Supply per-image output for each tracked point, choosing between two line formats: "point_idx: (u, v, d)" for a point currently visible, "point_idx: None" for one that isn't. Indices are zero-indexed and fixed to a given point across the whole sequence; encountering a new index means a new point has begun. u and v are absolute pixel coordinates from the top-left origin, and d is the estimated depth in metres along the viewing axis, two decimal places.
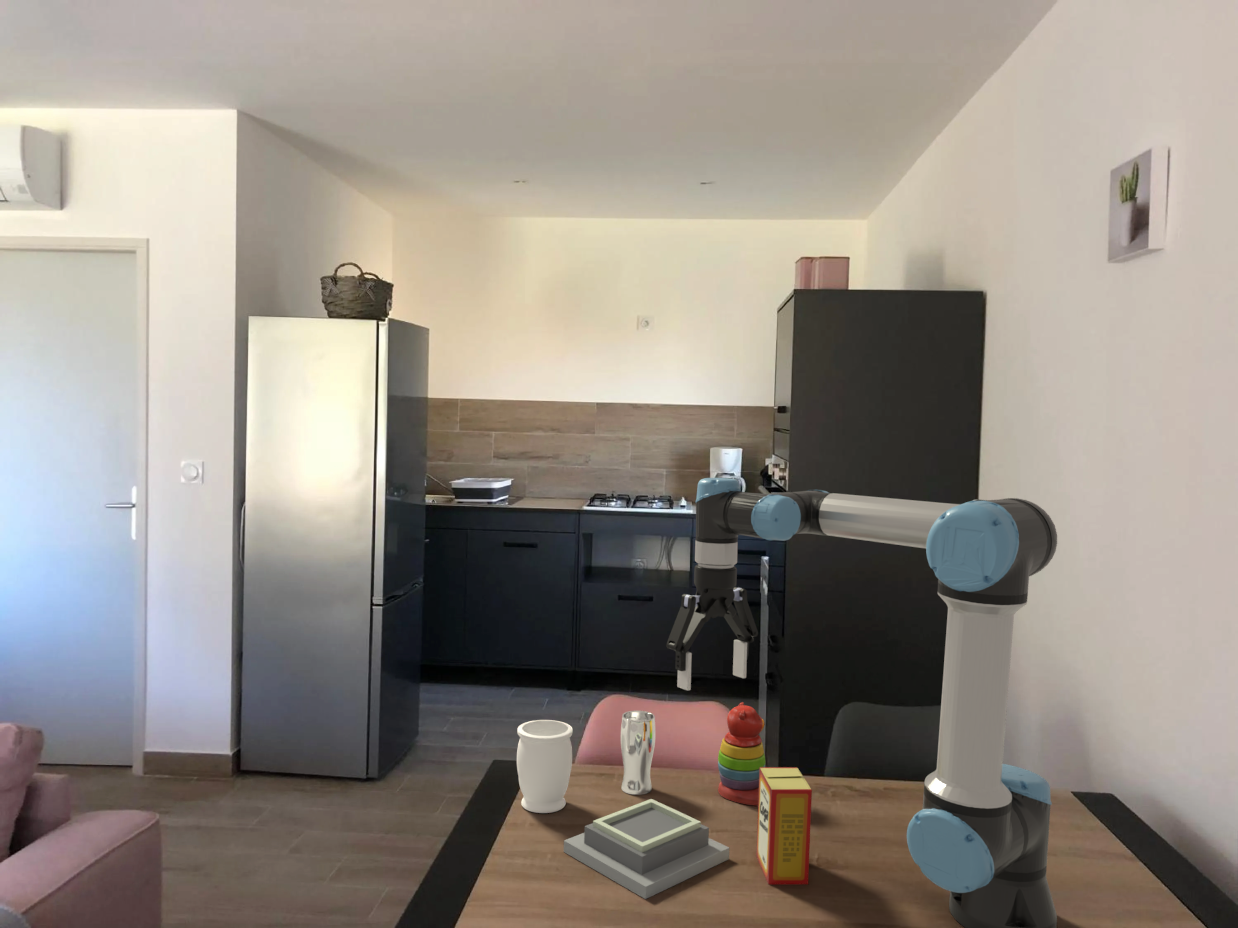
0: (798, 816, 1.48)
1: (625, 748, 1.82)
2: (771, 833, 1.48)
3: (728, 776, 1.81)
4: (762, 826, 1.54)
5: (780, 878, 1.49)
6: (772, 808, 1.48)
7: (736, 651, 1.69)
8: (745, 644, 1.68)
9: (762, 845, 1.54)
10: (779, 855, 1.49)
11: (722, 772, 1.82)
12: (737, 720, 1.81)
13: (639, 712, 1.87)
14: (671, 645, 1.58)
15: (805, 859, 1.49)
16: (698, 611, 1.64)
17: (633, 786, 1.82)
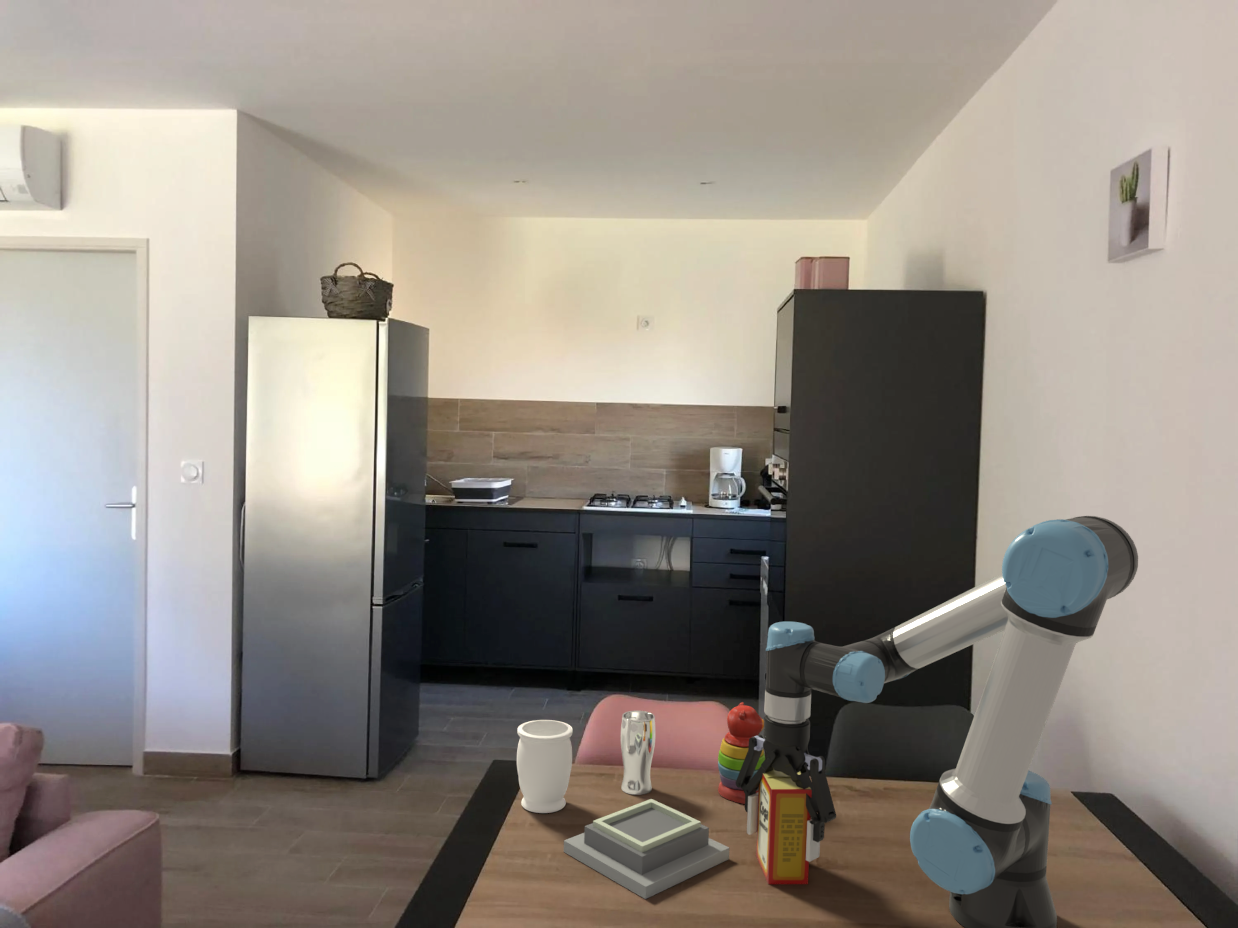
0: (798, 816, 1.48)
1: (625, 748, 1.82)
2: (771, 833, 1.48)
3: (728, 776, 1.81)
4: (762, 826, 1.54)
5: (780, 878, 1.49)
6: (772, 808, 1.48)
7: None
8: (808, 823, 1.48)
9: (762, 845, 1.54)
10: (779, 855, 1.49)
11: (722, 772, 1.82)
12: (737, 720, 1.81)
13: (639, 712, 1.87)
14: None
15: (805, 859, 1.49)
16: None
17: (633, 786, 1.82)
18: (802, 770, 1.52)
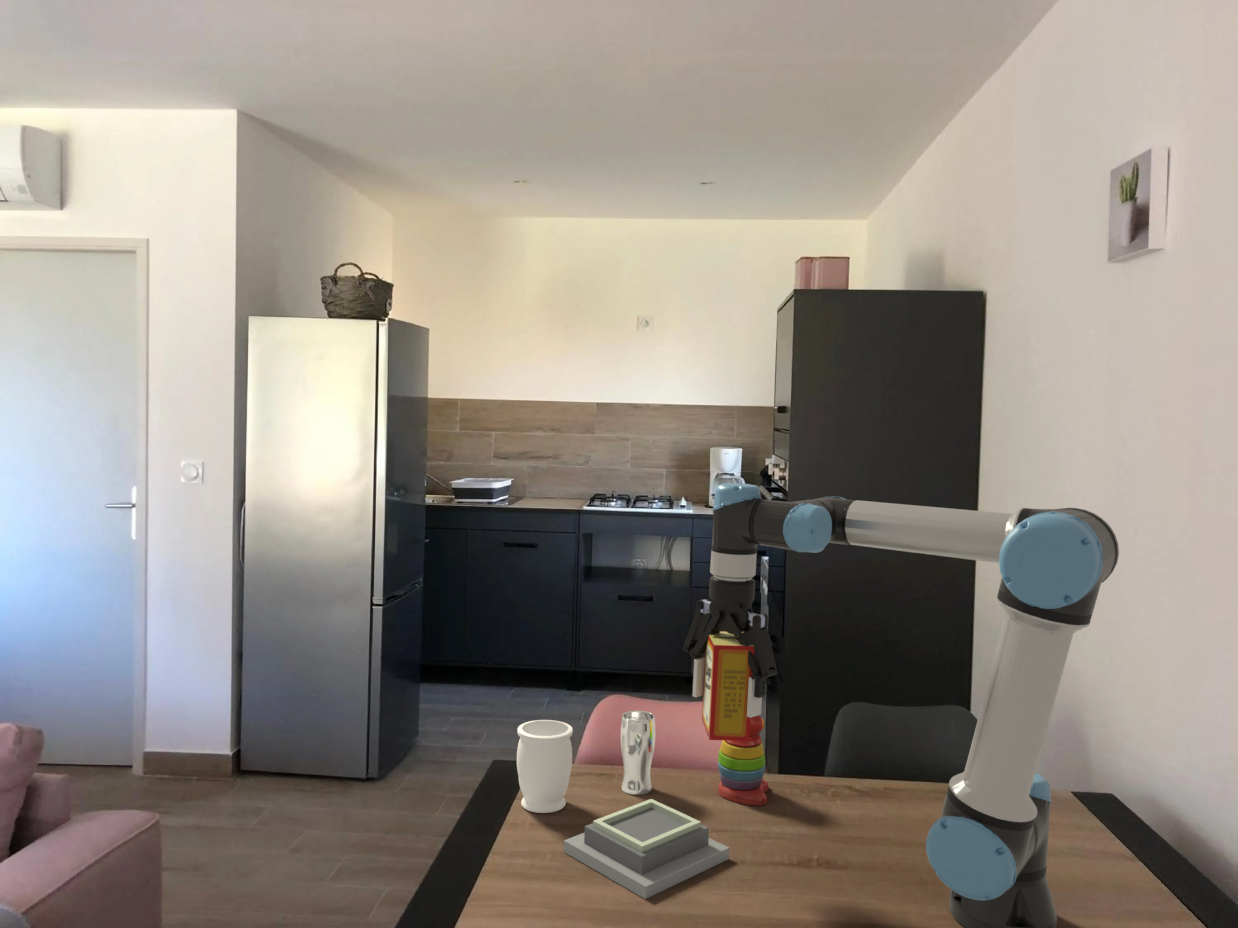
0: (740, 672, 1.49)
1: (625, 748, 1.82)
2: (713, 689, 1.49)
3: (728, 776, 1.81)
4: (706, 686, 1.55)
5: (721, 734, 1.50)
6: (714, 664, 1.49)
7: None
8: (750, 679, 1.48)
9: (706, 705, 1.54)
10: (720, 711, 1.49)
11: (722, 772, 1.82)
12: None
13: (639, 712, 1.87)
14: None
15: (746, 716, 1.50)
16: None
17: (633, 786, 1.82)
18: (746, 630, 1.52)
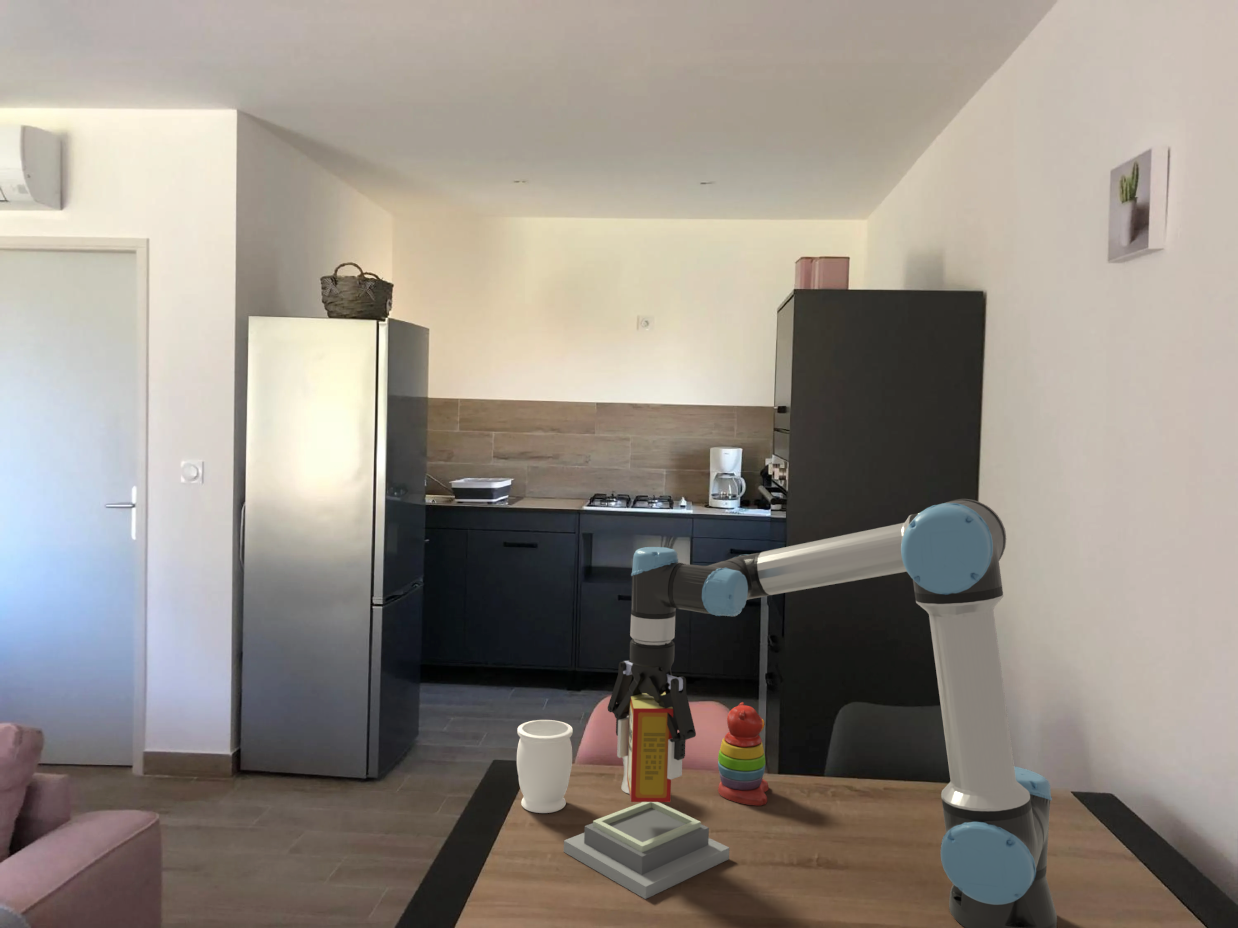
0: (660, 735, 1.51)
1: None
2: (634, 752, 1.51)
3: (728, 776, 1.81)
4: (629, 747, 1.57)
5: (642, 796, 1.52)
6: (634, 727, 1.51)
7: None
8: (669, 741, 1.51)
9: (629, 766, 1.57)
10: (641, 773, 1.52)
11: (722, 772, 1.82)
12: (737, 720, 1.81)
13: None
14: None
15: (667, 778, 1.52)
16: None
17: None
18: (666, 692, 1.55)
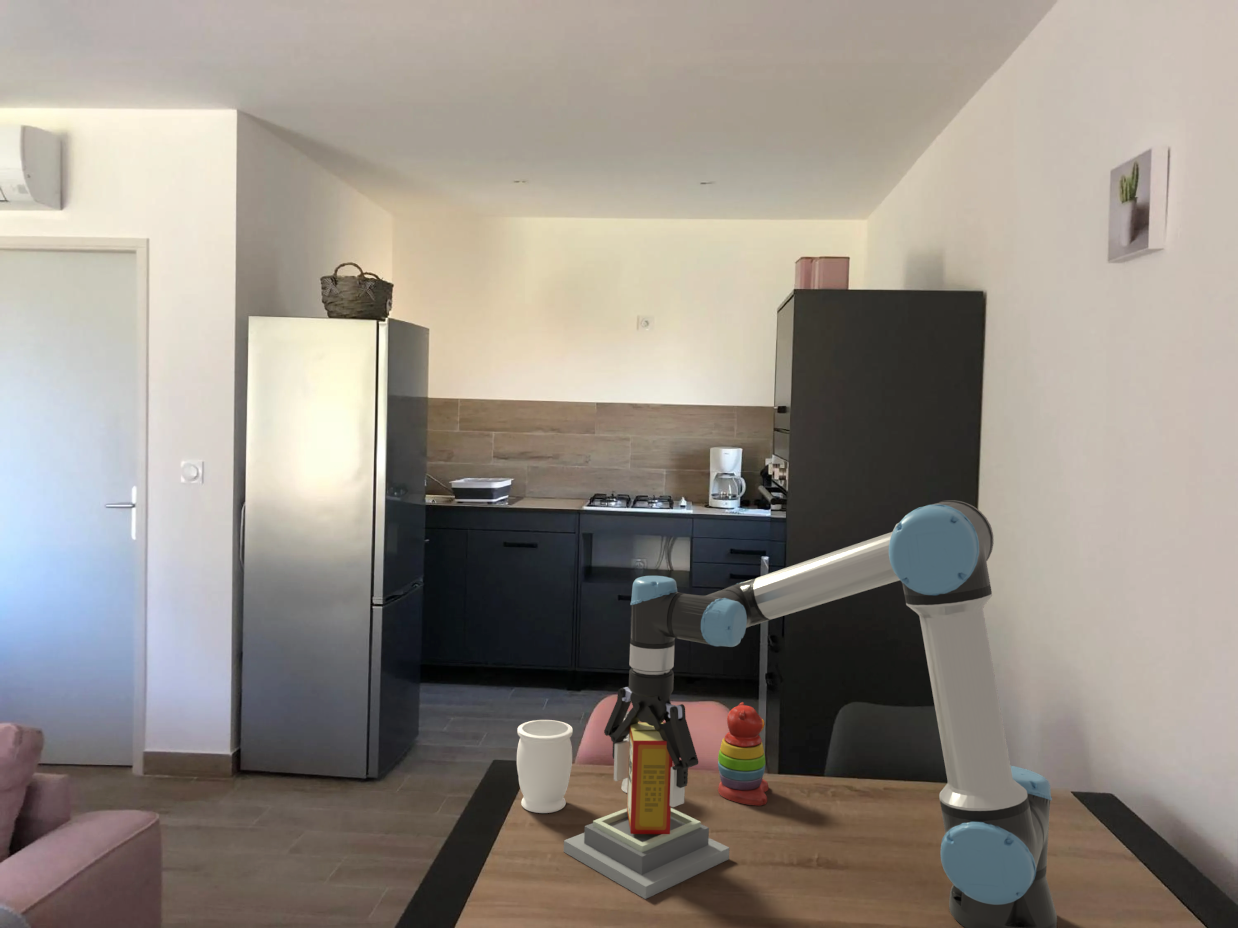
0: (659, 767, 1.52)
1: None
2: (633, 784, 1.52)
3: (728, 776, 1.81)
4: (629, 778, 1.57)
5: (642, 828, 1.52)
6: (634, 759, 1.51)
7: None
8: (672, 769, 1.50)
9: (629, 797, 1.57)
10: (641, 805, 1.52)
11: (722, 772, 1.82)
12: (737, 720, 1.81)
13: None
14: None
15: (666, 810, 1.52)
16: None
17: None
18: (667, 720, 1.55)
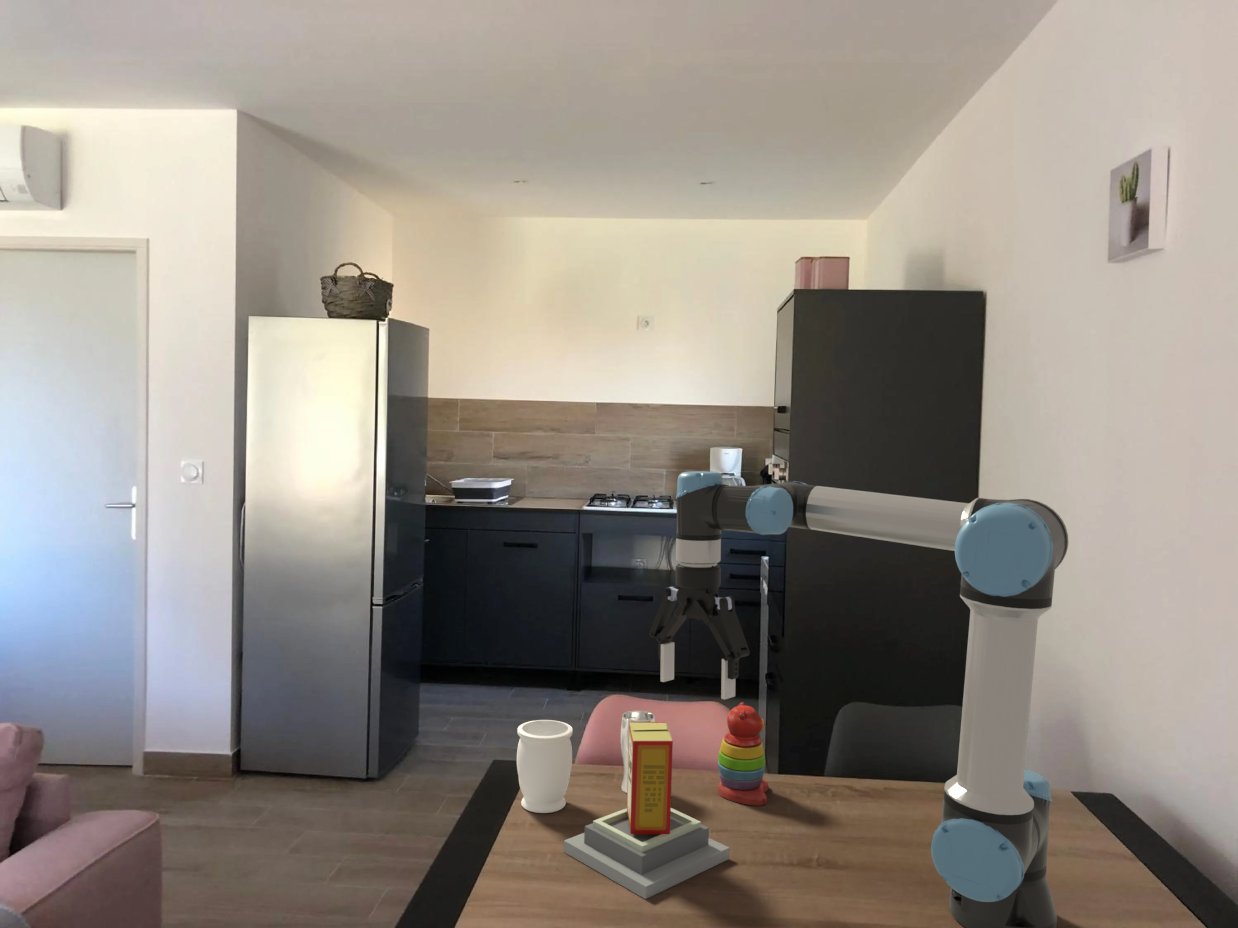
0: (659, 767, 1.52)
1: (625, 748, 1.82)
2: (633, 784, 1.52)
3: (728, 776, 1.81)
4: (629, 779, 1.57)
5: (642, 828, 1.52)
6: (633, 759, 1.51)
7: None
8: (723, 661, 1.49)
9: None
10: (641, 805, 1.52)
11: (722, 772, 1.82)
12: (737, 720, 1.81)
13: (639, 712, 1.87)
14: None
15: (666, 810, 1.52)
16: None
17: None
18: (715, 615, 1.53)
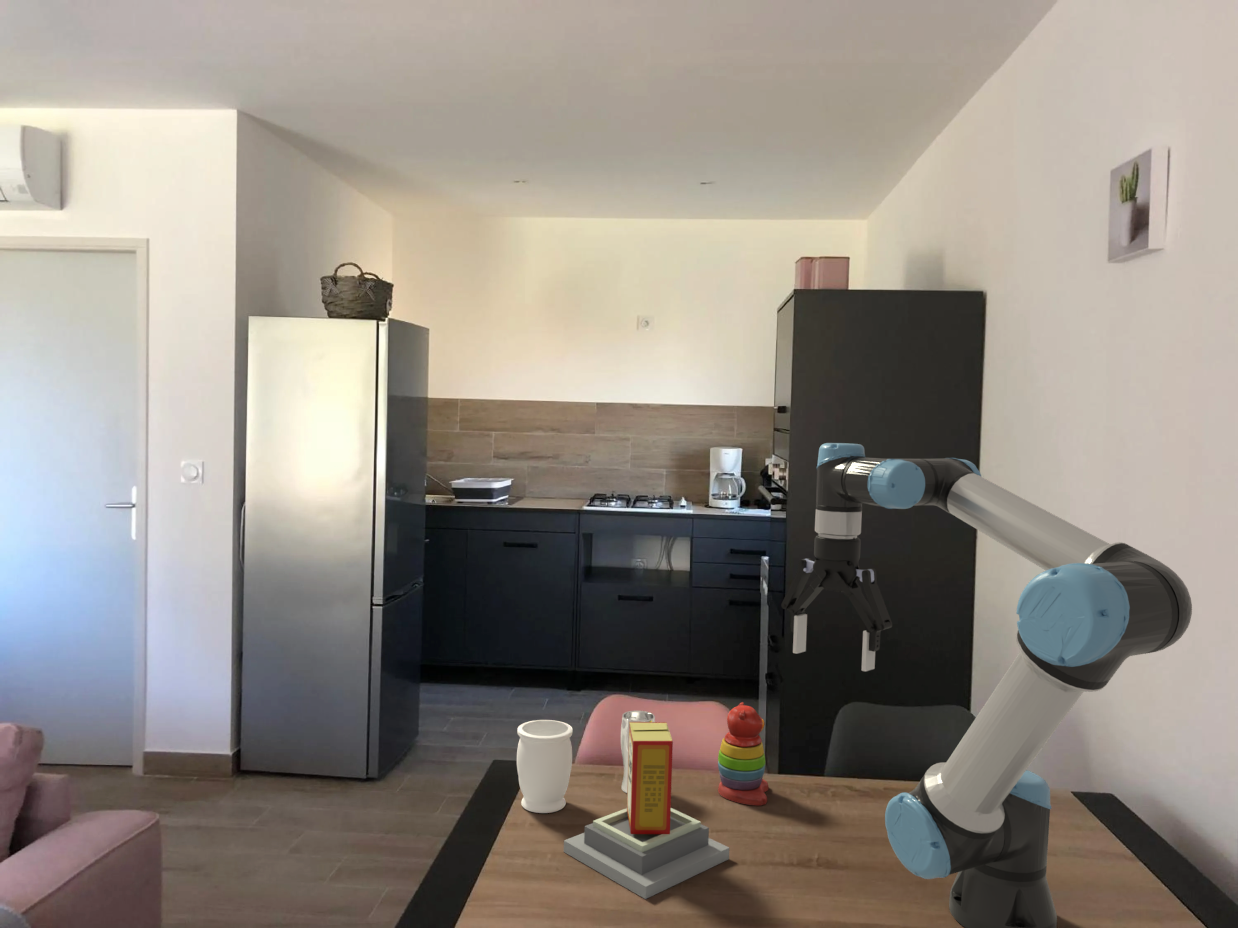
0: (659, 767, 1.52)
1: (625, 748, 1.82)
2: (633, 784, 1.52)
3: (728, 776, 1.81)
4: (629, 779, 1.57)
5: (642, 828, 1.52)
6: (634, 759, 1.51)
7: None
8: (864, 633, 1.49)
9: (629, 797, 1.57)
10: (641, 805, 1.52)
11: (722, 772, 1.82)
12: (737, 720, 1.81)
13: (639, 712, 1.87)
14: None
15: (666, 810, 1.52)
16: None
17: None
18: (854, 587, 1.53)
